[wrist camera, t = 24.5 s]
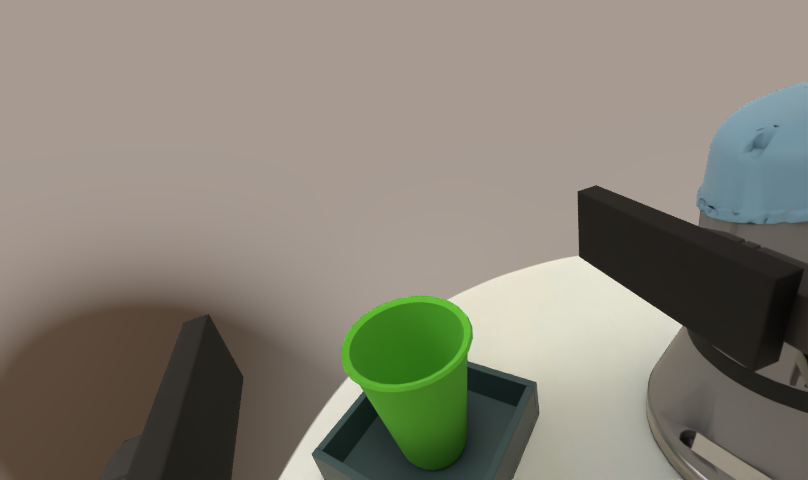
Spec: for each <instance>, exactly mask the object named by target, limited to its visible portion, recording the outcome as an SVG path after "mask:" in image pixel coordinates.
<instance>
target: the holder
mask: <svg viewBox="0 0 808 480" xmlns="http://www.w3.org/2000/svg"><path fill="white" fill-rule="evenodd" d="M538 415H539V404H538V394H537V384H536V382H534V381H530V380H527V379H524V378H521V377H517V376H514V375H511V374H508V373H504V372H501V371H498V370H494V369H491V368H488V367H485V366H481V365H478V364H475V363H472V362H468V361H467V440H466V443H465V447H464V449H463V451H462V453H461V454H460V456H459V457H458V458H457V460H456V461H455V462H454V463H452V464H451V465H449V466H448V467H445V468H442V469H438V470H425V469H422V468H420V467H418V466H415V465H414V464H413V463H411V462H410V461H409V460H408V459H407V458H406V456H405V455H404V454H403V452H402V451H401V449H400V447H399V446H398V444H397V443H396V441H395V440H394V438H393V436H392V435H391V433H390V432H389V430H388V429H387V427H386V425H385V424H384V422H383V421H382V419H381V418H380V416H379V414H378V413H377V411H376V410H375V408H374V407H373V405H372V404H371V402H370V400H369V399H368V397H367V396H366V394H365V393H364V391H363V393H362V394H361V395H360V396H359V397H358V399H357V400H356V401H355V402H354V403H353V405H352V406H351V407H350V408H349V409H348V411H347V412H346V413H345V414H344V415H343V417H342V418H341V419H340V420H339V421H338V423H337V424H336V425H335V426H334V427H333V429H332V430H331V431H330V432H329V434H328V435H327V436H326V437H325V438H324V440H323V441H322V442H321V443H320V444H319V446H318V447H317V448H316V449H315V450H314V452H313V453H312V456H313V458H314V460H315V462H316V464H317V466H318V468H319V470H320V472H321V474H322V476H323V478H324V480H512V478H513V476H514V473H515V471H516V468H517V466H518V464H519V461H520V459H521V456H522V454H523V452H524V449H525V447H526V444H527V442H528V439H529V437H530V435H531V432H532V430H533V427H534V425H535V423H536V420H537V418H538Z"/></svg>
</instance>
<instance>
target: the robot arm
mask: <svg viewBox="0 0 808 480" xmlns="http://www.w3.org/2000/svg"><path fill="white" fill-rule="evenodd" d="M697 206H698V207H699V209H700V218H699V226H696V225H694V224H691V223H689V222H686V221H684V220H681V219H679V218H676V217H674V216H671V215H669V214H666V213H664V212H661V211H659V210H656V209H654V208H651V207H649V206H646V205H644V204H641V203H639V202H637V201H634V200H632V199H629V198H627V197H624V196H621V195H619V194H617V193H614V192H612V191H609V190H607V189H604V188H601V187H599V186H597V185H596V186H593V187H590V188H587V189H584V190H581V191H578V226H579V227H578V228H579V257H581V258H582V259H584V260H585V261H587V262H588V263H590V264H591V265H593V266H594V267H596V268H597V269H599V270H600V271H602V272H603V273H605V274H606V275H608V276H609V277H611V278H612V279H614V280H615V281H617V282H618V283H620V284H621V285H623V286H624V287H626V288H627V289H629V290H630V291H632V292H633V293H635V294H636V295H638V296H639V297H641V298H642V299H644V300H645V301H647V302H648V303H650V304H651V305H653V306H654V307H656V308H657V309H659V310H660V311H662V312H663V313H665V314H666V315H668V316H669V317H671V318H673V319H674V320H676V321H677V322H679V323H680V324H682V325H683V326H682V328H681V329H680V331H679V332H678V334H677V335H676V336H675V338H674V339H673V341H672V342H671V344H670V345H669V346H668V348H667V349H666V351H665V352H664V354H663V355H662V356H661V358H660V359H659V361H658V362H657V364H656V365H655V367H654V368H653V370H652V373H651V375H650V378H649V383H648V393H647V415H648V421H649V424H650V427H651V430H652V433H653V435H654V437H655V439H656V441H657V443H658V445H659V447H660V448H661V450H662V451H663V453H664V454H665V456H666V457H667V459H668V460H669V461H670V463H671V464H672V465H673V466H674V468H675V469H676V470H677V471H678V472H679V473H680V474H681V475H682V476H683V478H684V479H685V480H808V81H805V82H802V83H799V84H795V85H792V86H789V87H786V88H784V89H781V90H778V91H775V92H772V93H770V94H767V95H765V96H762V97H760V98H758V99H756V100H754V101H752V102H750V103H748V104H746V105H745V106H743V107H741V108H740V109H738V110H737V111H735V112H734V113H733V114H732V115H730V116H729V117H728V118H727V119H726V120H725V121H724V122H723V123H722V124H721V126H720V127H719V128H718V129H717V132H716V133H715V135H714V137H713V139H712V142H711V146H710V151H709V156H708V161H707V166H706V171H705V176H704V181H703V183H702V185H701V187H700V188H699V190H698V193H697ZM242 385H243V375H242V374H241V372H240V370H239V368H238V366H237V365H236V363H235V361H234V359H233V357H232V356H231V354H230V352H229V350H228V348H227V347H226V345H225V343H224V341H223V339H222V338H221V336H220V334H219V332H218V330H217V329H216V327H215V325H214V323H213V321H212V319H211V317H210V316H209V314H208V315H205V316H201V317H198V318H196V319H193V320H189V321H187V322H184V323H183V326H182V328H181V331H180V334H179V336H178V339H177V342H176V345H175V347H174V350H173V352H172V355H171V358H170V360H169V363H168V366H167V369H166V371H165V374H164V377H163V379H162V382H161V385H160V387H159V390H158V393H157V395H156V398H155V401H154V403H153V406H152V409H151V411H150V414H149V417H148V419H147V422H146V425H145V427H144V430H143V433H142V435H139V436H137V437H134V438H131V439H129V440H126V441H124V442H123V443H122V445H121V446H120V447H119V449H118V450H117V451H116V453H115V454H114V455H113V456H112V458H111V459H110V460H109V462H108V463H107V465H106V467H105V470H104V472H103V475H102V477H101V479H100V480H231V476H232V468H233V459H234V451H235V442H236V434H237V426H238V418H239V409H240V400H241V393H242Z"/></svg>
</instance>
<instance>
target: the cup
mask: <svg viewBox="0 0 808 480" xmlns="http://www.w3.org/2000/svg"><path fill="white" fill-rule="evenodd" d="M472 339H473V335H472V326H471V323H470V321H469V318H468V317H467V316H466V315H465V313H464V312H463V311H462V310H461V309H460V308H459V307H458V306H456V305H454V304H453V303H451V302H449V301H447V300H443V299H440V298H437V297H429V296H411V297H405V298H400V299H396V300H393V301H390V302H387V303H384V304H382V305H380V306H378V307H376V308H374V309H372V310H371V311H369V312H368V313H367V314H365V315H363V316H362V317H361V318H360V319H359V320H358V321H357V322H356V323H355V324H354V325H353V326H352V327H351V329H350V330H349V332H348V333H347V335H346V337H345V339H344V342H343V345H342V349H341V362H342V365H343V368H344V371H345V372H346V373H347V374H348V376H349V377H350V378H351V379H352V380H353V381H354V382H356V383H358V384H359V385H360V386H361V388H362V389H363V391H364V393H365V394H366V396H367V397H368V399H369V400H370V402H371V404H372V405H373V407H374V408H375V410H376V411H377V413H378V414H379V416H380V418H381V419H382V421H383V422H384V424H385V425H386V427H387V429H388V430H389V432H390V433H391V435H392V436H393V438H394V440H395V441H396V443H397V444H398V446H399V447H400V449H401V451H402V452H403V454H404V455H405V456H406V458H407V459H408V460H409V461H410V462H411V463H413V464H414V465H415V466H418V467H420V468H422V469H425V470H438V469H442V468H445V467H448V466H449V465H451V464H452V463H454V462H455V461H456V460H457V458H458V457H459V456H460V454H461V453H462V451H463V449H464V447H465V443H466V440H467V353H468V351H469V349H470V345H471V342H472Z"/></svg>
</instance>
